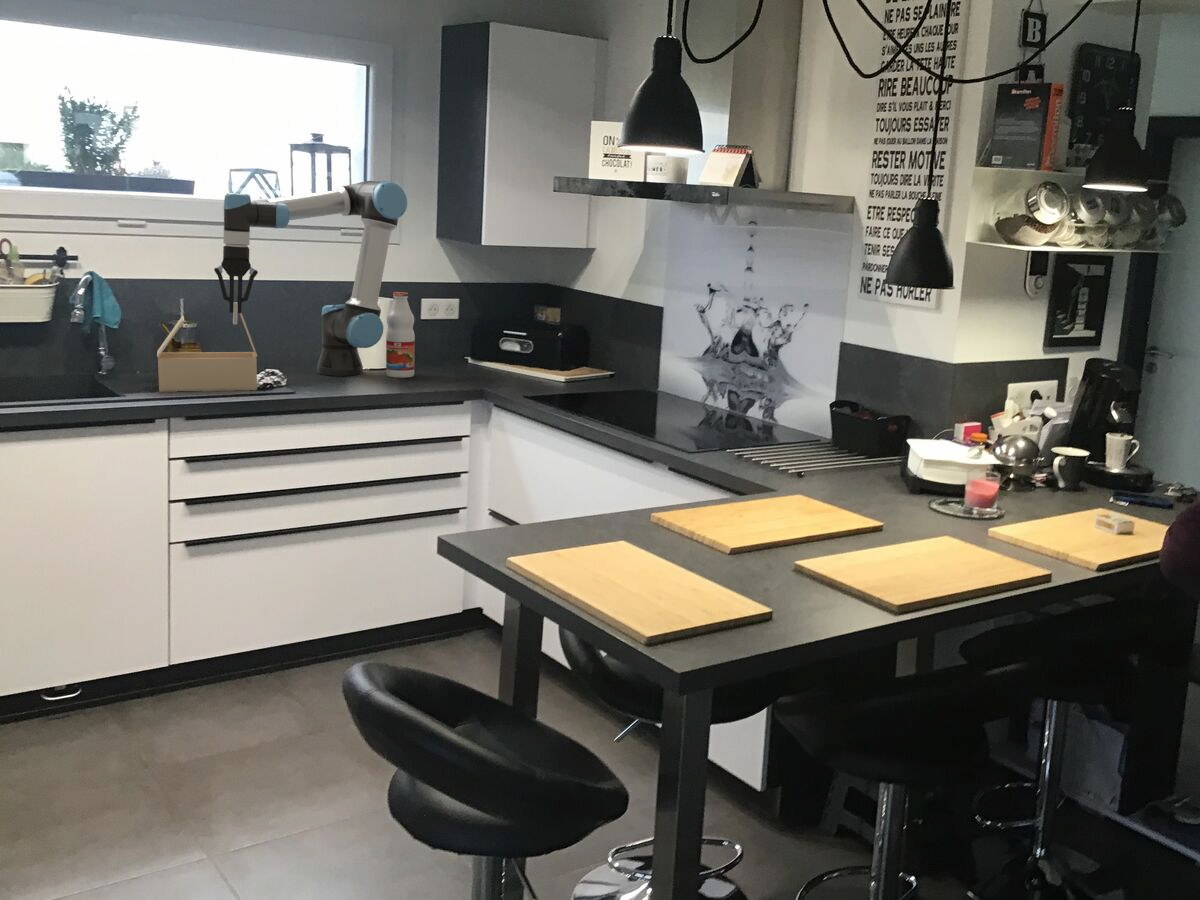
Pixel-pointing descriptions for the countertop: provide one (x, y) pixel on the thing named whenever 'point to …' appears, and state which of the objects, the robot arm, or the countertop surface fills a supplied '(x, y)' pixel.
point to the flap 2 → (248, 334)
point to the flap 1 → (170, 336)
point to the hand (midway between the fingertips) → (235, 323)
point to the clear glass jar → (177, 344)
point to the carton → (207, 371)
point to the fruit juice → (400, 338)
